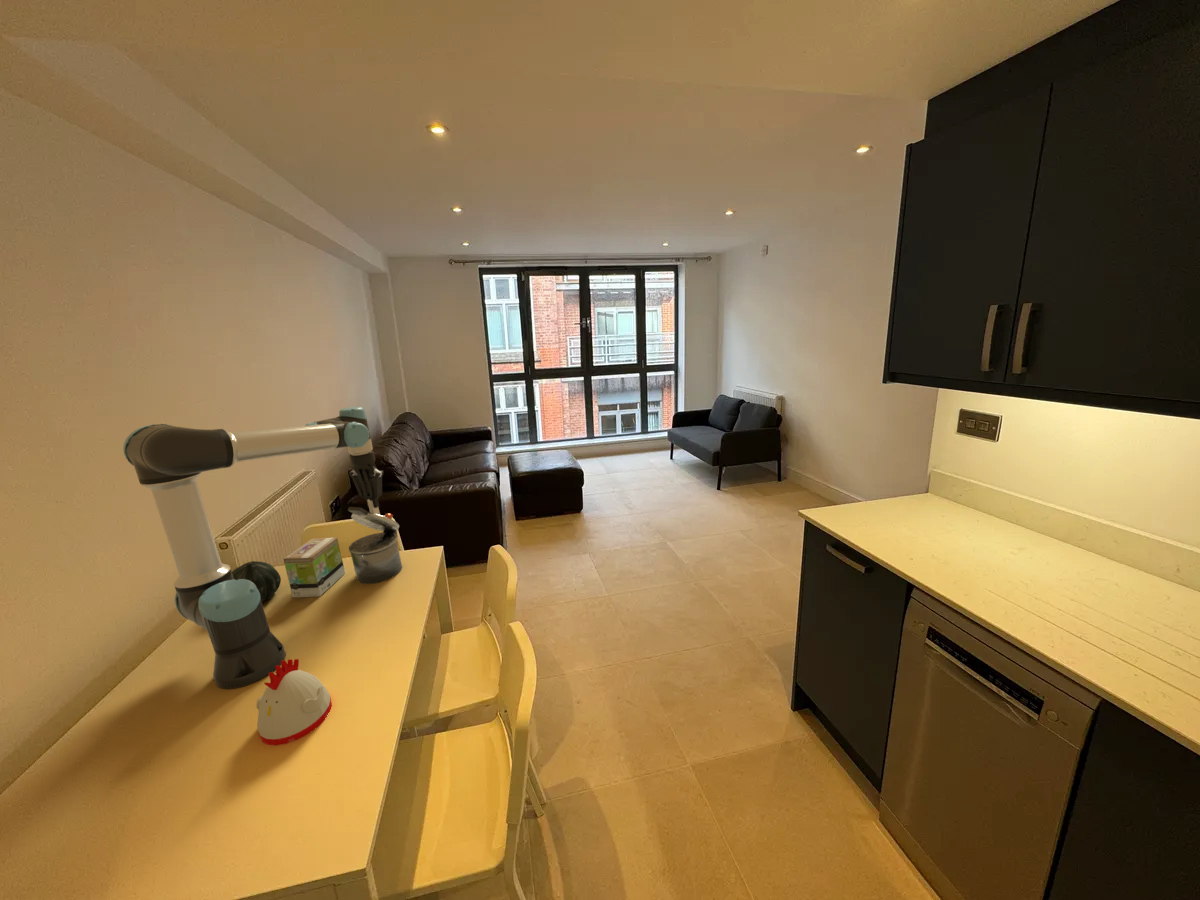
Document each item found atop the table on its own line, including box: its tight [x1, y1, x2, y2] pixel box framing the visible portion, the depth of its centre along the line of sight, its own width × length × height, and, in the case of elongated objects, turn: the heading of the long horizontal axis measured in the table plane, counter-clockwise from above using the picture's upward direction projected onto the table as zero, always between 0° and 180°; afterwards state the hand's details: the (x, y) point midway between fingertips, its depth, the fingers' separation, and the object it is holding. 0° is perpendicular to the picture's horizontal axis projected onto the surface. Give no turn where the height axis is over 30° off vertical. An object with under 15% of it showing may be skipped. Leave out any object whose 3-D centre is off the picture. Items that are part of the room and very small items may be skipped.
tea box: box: [283, 537, 346, 598], centre depth 158 cm, size 15×10×15 cm, turn 179°
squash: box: [231, 560, 282, 603], centre depth 152 cm, size 14×15×15 cm
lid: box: [347, 506, 400, 532], centre depth 163 cm, size 20×16×4 cm
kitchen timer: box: [256, 658, 333, 746], centre depth 102 cm, size 14×14×15 cm
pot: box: [348, 531, 403, 585], centre depth 165 cm, size 17×16×12 cm
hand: (375, 515), depth 163 cm, fingers closed
